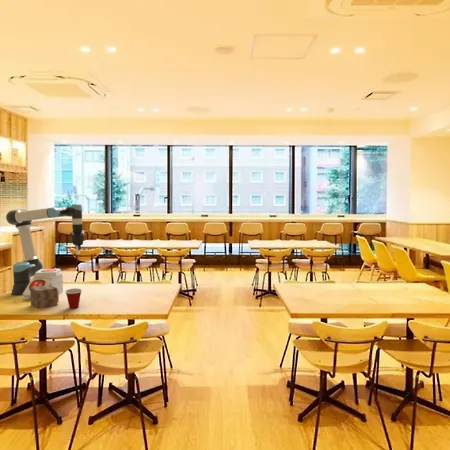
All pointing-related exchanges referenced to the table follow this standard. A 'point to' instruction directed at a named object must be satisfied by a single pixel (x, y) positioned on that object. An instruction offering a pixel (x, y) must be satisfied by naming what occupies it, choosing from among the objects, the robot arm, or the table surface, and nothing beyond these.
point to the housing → (43, 296)
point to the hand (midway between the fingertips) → (78, 253)
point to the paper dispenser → (45, 280)
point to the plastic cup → (73, 297)
